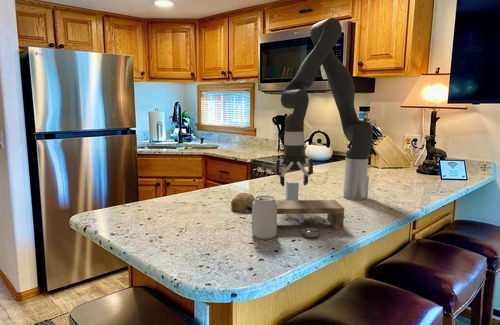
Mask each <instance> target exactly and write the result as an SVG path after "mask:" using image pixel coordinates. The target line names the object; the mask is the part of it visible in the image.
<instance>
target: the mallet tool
mask: <svg viewBox="0 0 500 325" xmlns="http://www.w3.org/2000/svg"><path fill="white" fill-rule="evenodd" d="M285 182H286V183H285V184H286V185H285V186H286V187H285V192H286V193H285V200H299V186H300V183H299V182H298V181H297V180H286V181H285ZM294 215H295V217H296V218H297V220H298V222H299V223H300V224H302V223H305V216H304V214H294Z"/></svg>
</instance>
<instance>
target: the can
mask: <svg viewBox="0 0 500 325" xmlns="http://www.w3.org/2000/svg"><path fill="white" fill-rule="evenodd" d="M254 199H255V200H254V201H253V202H252V211H251V234H252V236H254V238H256V239H259V240H270V239H273V238H275V236H276V235H277V234H278V233H277V230H278V228H277V226H278V214H277V202H276V201H275V200H276V197H275V196H272V195H264V194H263V195H256V196H254Z"/></svg>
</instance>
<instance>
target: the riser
mask: <svg viewBox="0 0 500 325" xmlns="http://www.w3.org/2000/svg"><path fill="white" fill-rule="evenodd" d="M275 201H276V202H277V215H295V214H303V215H322V214H323V215H327V216H326V217H327V218H326V219H327V220H326V221H328V222H329V223H330V224H331V226H333V228H334V229H335V230H344V223H345V222H344V219H345V207H343V206H342V204H340V203H339V202H338V201H336V199H301V200H300V199H298V200H286V199H281V200H277V199H275Z"/></svg>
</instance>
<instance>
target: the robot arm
mask: <svg viewBox="0 0 500 325" xmlns="http://www.w3.org/2000/svg"><path fill="white" fill-rule="evenodd" d="M342 31H343V28H342V24H341V22H340V21H339V20H338V19H337V18H335V17H329V18H325V19H324V20H321V21H319V22H317V23H315V24H313V25H312V26H311V28H310V39H311V42H312V45H313V47H314V48H313V49H312V50H311V51H310V53H309V54H308V55H307V56H306V57H305V58H304V60H303V61H302V63H301V64H300V66H299V68H298V70H297V72H296V74H295V76H294V77H293V79H292V80H291V81H290V82H289V83H288V84H287V85H286V87H285V88H284V89H283V91H282V93H281V96H280V102H281V106H282V107H283V108H285V109H290V110H292V109H293V112H292V114H289V115H287V116H286V117H285V119H284V136H283V137H284V138H283V140H284V141H283V142H284V143H283V147H284V148H283V149H284V151H283V159H279V158H276V159H275V165H274V166H275V167H274V168H275V170H274V174H275V175H276V176H279V184H280V185H281V187H285V175H286V173H288V171H299V170H300V171H301V172H302V173H303V178H302V179H303V184H302V185H303V186H307V185H308V184H309V176H310V175H313V174H314V164H313V162H314V160H313V159H312V158H311V157H308V158H305V132H304V130H305V128H304V127H305V118H306V116H307V111H308V108H309V103H310V102H309V101H310V97H309V94H308V92H307V91H306V90H308V89H310V88H311V86H312V85H313V83H314V81H315V79H316V76H317V75H318V73H319V71H320V68H321V67H322V68H323V70H324V73H325V75H326V79H327V82H328V85H329V89H330V91H331V93H332V96H333V99H334V103H335V105H336V107H337V108H336V109H337V111H338V115H339V118H340V123H341V127H342V132H343V134H344V137H345V138H346V139H347V140H349V141H350V142H351V145H350V148H349V149H348V150H346V151H345V160H344V161H345V164H344V180H343V181H344V182H343V198H344V199H347V200H351V201H353V200H354V201H355V200H356V201H361V200H362V201H363V200H368V197H369V196H368V195H369V181H370V180H369V179H370V178H369V176H368V167H369V166H368V165H369V155H370V153H371V151H372V150H371V149H372V143H373V126H372V124H371V123H370V122H369V121H367V120H363V119H359V118H358V114H357V111H356V109H355V96H356V87H355V84H354V80H353V77H352V74H351V72H350V70H349V69H348V67H346V65H344V63H342V61H340V60H339V58H338V57H337V56H336V54H335V53H334V51H333V48H334V47H335V45H336V43H337V42H338V41H339V39H340V37H341V36H342V33H343V32H342ZM282 163H283V164H284V167H282V169H281V170H280V167H281V165H282ZM305 163H306V164H307V167H308V168H307V169H305V167H304V165H305Z"/></svg>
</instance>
